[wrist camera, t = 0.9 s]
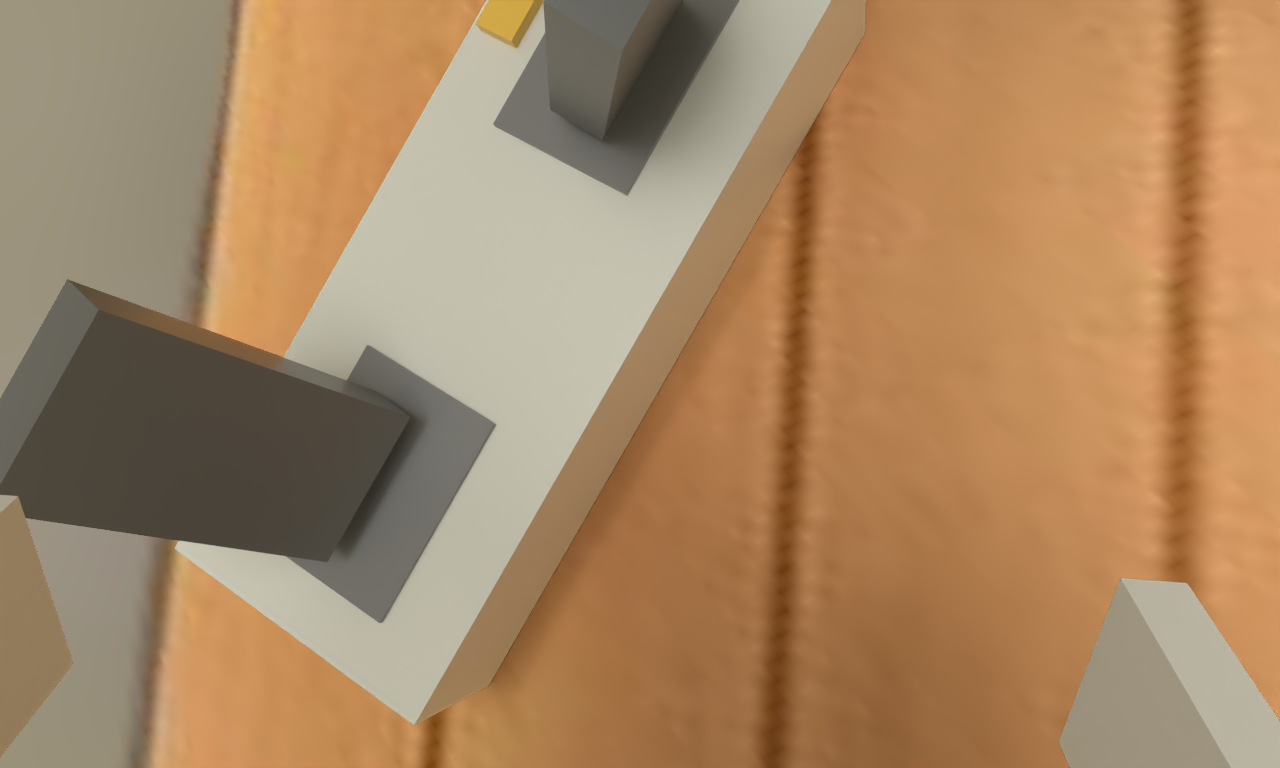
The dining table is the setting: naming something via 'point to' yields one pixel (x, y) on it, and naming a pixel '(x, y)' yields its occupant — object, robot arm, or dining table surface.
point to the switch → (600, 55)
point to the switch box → (528, 323)
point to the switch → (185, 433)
